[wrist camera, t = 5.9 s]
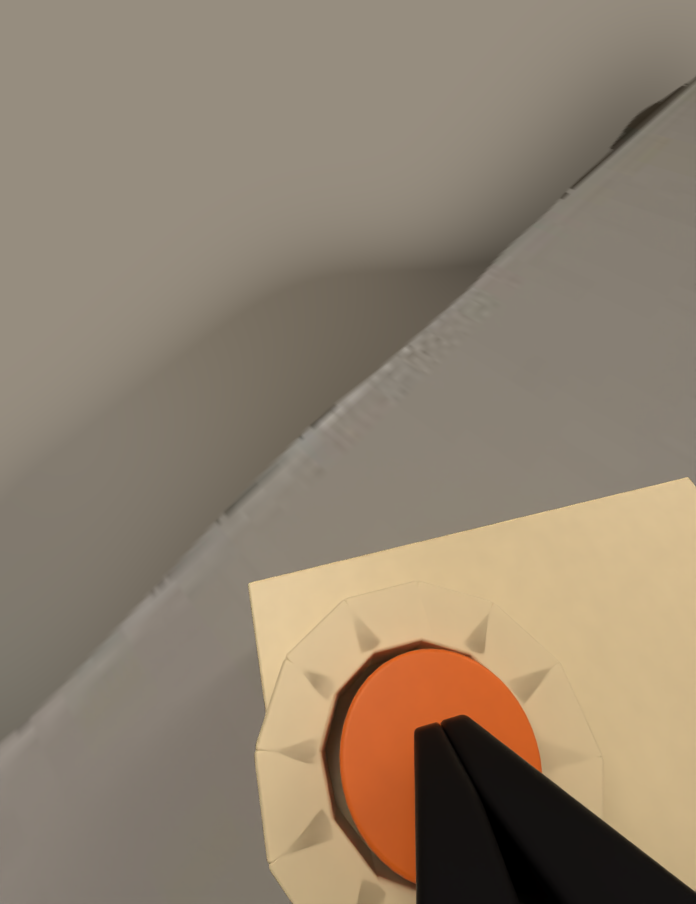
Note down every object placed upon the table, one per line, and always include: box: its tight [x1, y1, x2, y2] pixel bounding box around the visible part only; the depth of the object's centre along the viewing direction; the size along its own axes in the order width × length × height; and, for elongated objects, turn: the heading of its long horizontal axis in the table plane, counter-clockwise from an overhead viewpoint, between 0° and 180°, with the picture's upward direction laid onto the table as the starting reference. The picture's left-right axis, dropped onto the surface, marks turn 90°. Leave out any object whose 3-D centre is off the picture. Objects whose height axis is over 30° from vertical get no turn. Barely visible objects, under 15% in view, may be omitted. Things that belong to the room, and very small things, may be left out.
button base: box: [248, 477, 696, 904], centre depth 13 cm, size 8×13×8 cm, turn 104°
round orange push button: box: [339, 649, 542, 884], centre depth 8 cm, size 3×3×2 cm
